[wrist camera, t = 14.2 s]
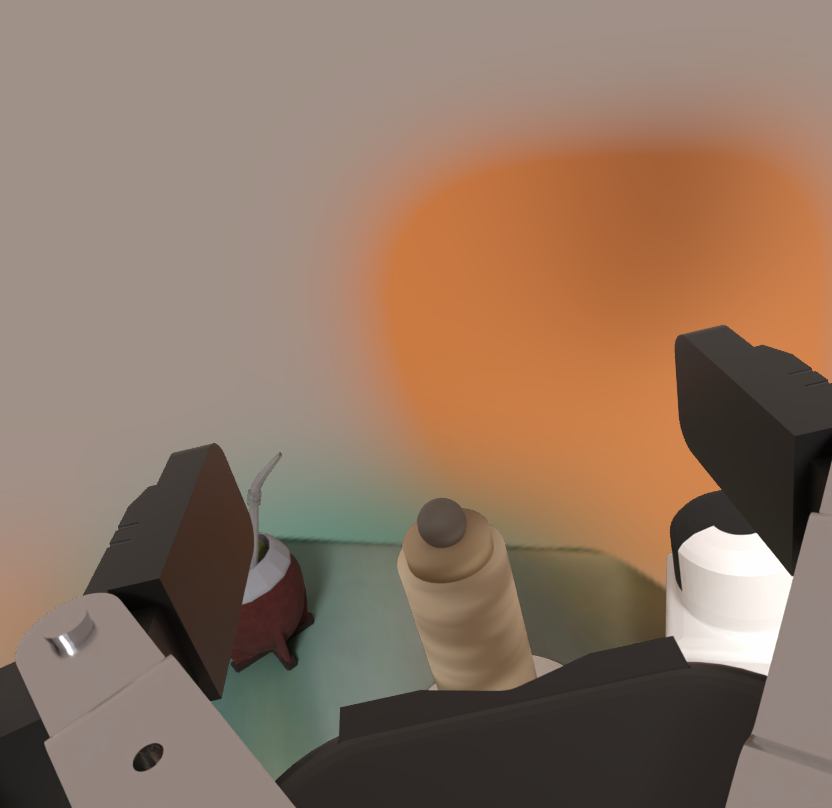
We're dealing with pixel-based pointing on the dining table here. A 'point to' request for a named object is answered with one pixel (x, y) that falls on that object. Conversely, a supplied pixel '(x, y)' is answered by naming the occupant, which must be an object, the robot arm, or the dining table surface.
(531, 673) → the pepper mill
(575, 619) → the dining table surface
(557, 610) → the dining table surface
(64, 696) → the robot arm
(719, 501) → the medicine bottle
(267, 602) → the mate gourd
